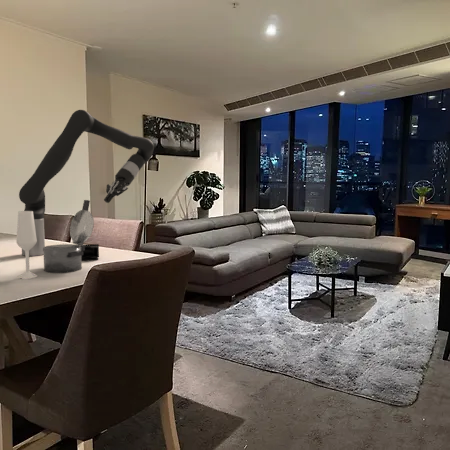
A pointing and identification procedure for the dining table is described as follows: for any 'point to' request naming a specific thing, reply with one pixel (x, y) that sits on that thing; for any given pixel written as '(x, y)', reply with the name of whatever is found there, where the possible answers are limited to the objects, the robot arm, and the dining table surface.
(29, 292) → the dining table surface
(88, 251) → the end cap
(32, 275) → the champagne flute
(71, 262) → the pot
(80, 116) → the robot arm
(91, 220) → the lid
